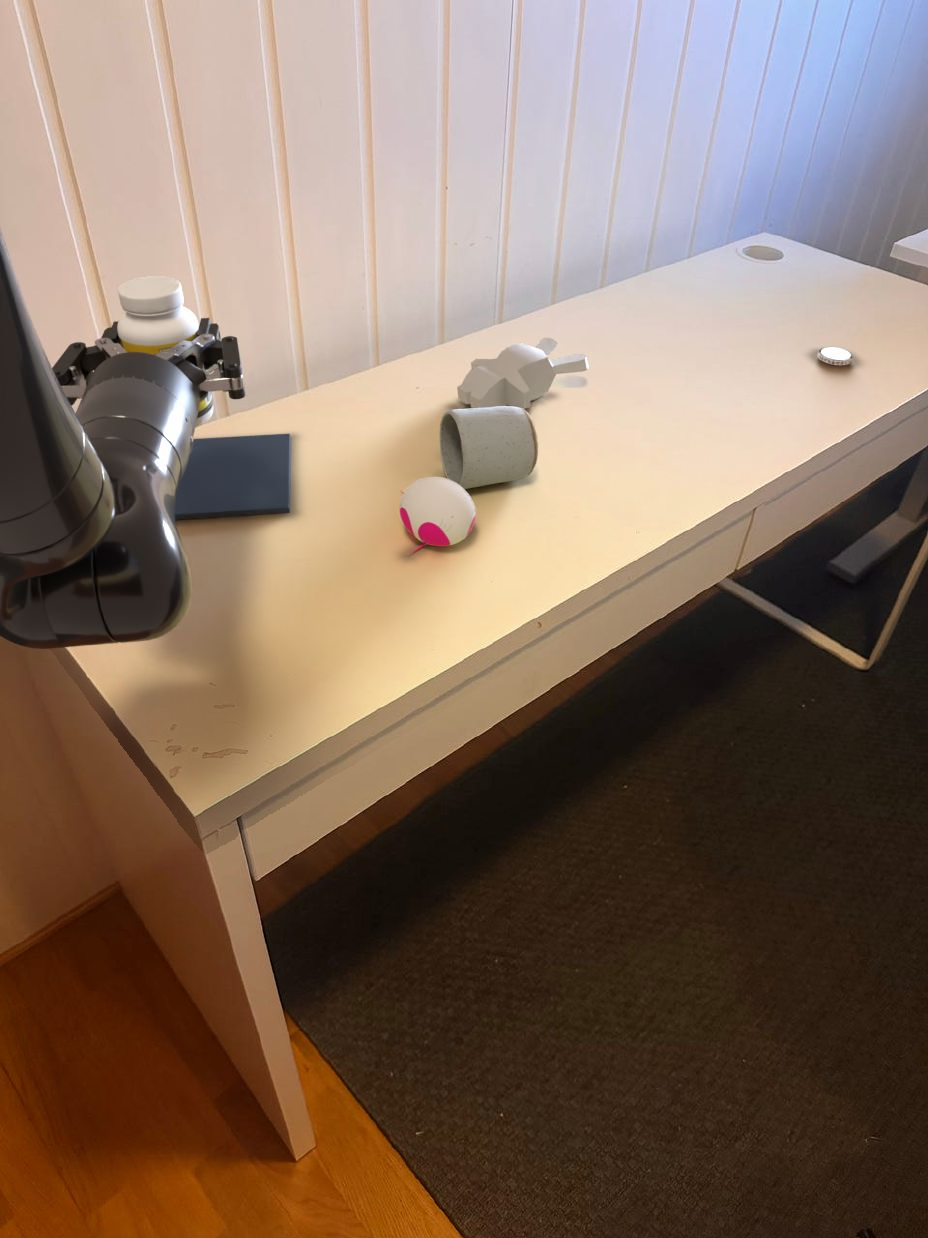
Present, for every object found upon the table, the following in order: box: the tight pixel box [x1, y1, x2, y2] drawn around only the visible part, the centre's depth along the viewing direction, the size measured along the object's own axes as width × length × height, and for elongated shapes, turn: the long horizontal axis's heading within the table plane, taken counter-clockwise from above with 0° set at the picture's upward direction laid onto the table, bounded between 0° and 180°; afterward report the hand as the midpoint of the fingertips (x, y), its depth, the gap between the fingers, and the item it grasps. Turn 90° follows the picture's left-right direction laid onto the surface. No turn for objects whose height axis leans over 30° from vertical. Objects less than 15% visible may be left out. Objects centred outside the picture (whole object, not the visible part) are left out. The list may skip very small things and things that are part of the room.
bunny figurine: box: [456, 337, 590, 410], centre depth 102 cm, size 10×5×15 cm
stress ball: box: [399, 475, 477, 555], centre depth 80 cm, size 8×8×7 cm
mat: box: [175, 433, 292, 521], centre depth 89 cm, size 14×14×1 cm
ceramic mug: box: [438, 405, 539, 490], centre depth 88 cm, size 11×8×8 cm
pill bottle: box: [117, 275, 214, 428], centre depth 72 cm, size 6×6×11 cm
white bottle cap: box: [817, 346, 854, 366], centre depth 111 cm, size 4×4×1 cm
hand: (164, 330), depth 73 cm, fingers closed on pill bottle, 6 cm apart
